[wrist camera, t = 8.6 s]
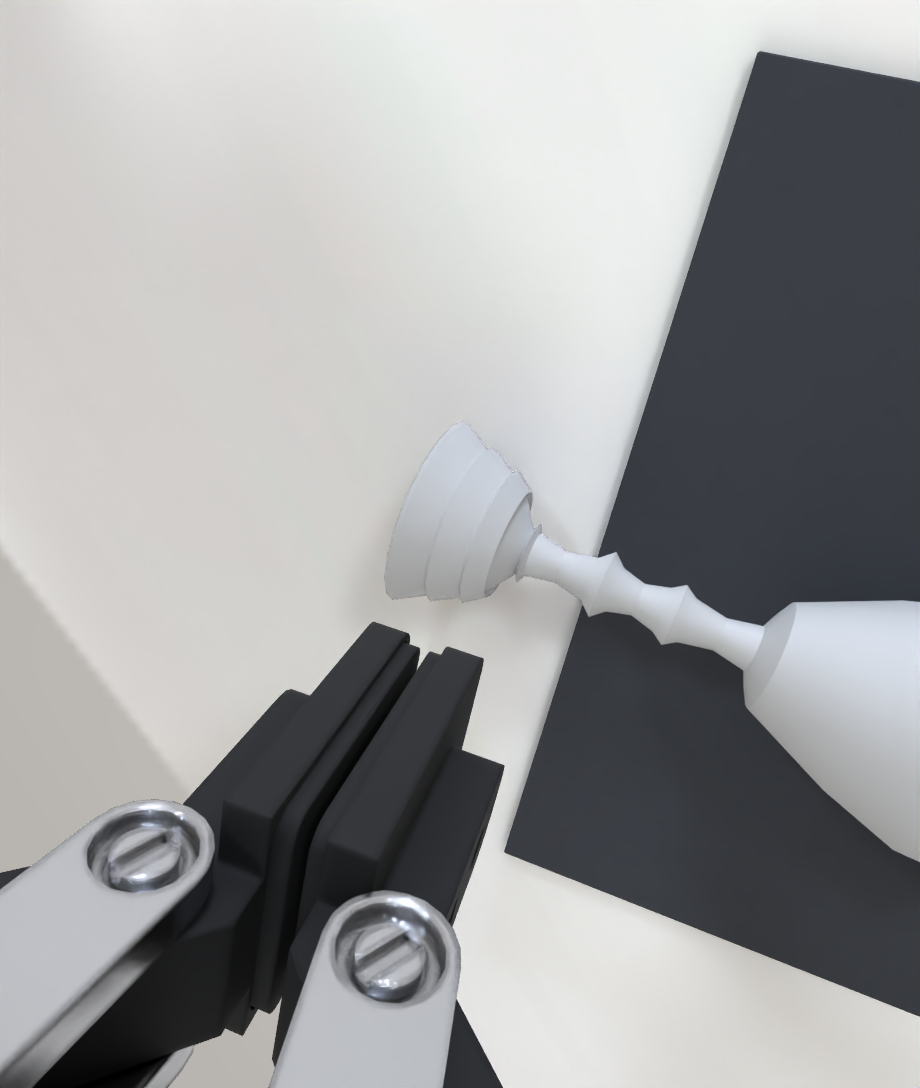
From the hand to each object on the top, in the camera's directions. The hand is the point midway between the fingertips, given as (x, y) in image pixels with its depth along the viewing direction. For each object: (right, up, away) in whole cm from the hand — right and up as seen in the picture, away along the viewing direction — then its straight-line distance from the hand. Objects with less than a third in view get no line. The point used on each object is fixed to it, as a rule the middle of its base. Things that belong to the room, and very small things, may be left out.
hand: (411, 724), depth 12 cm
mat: (+11, +1, +10) cm, 15 cm away
